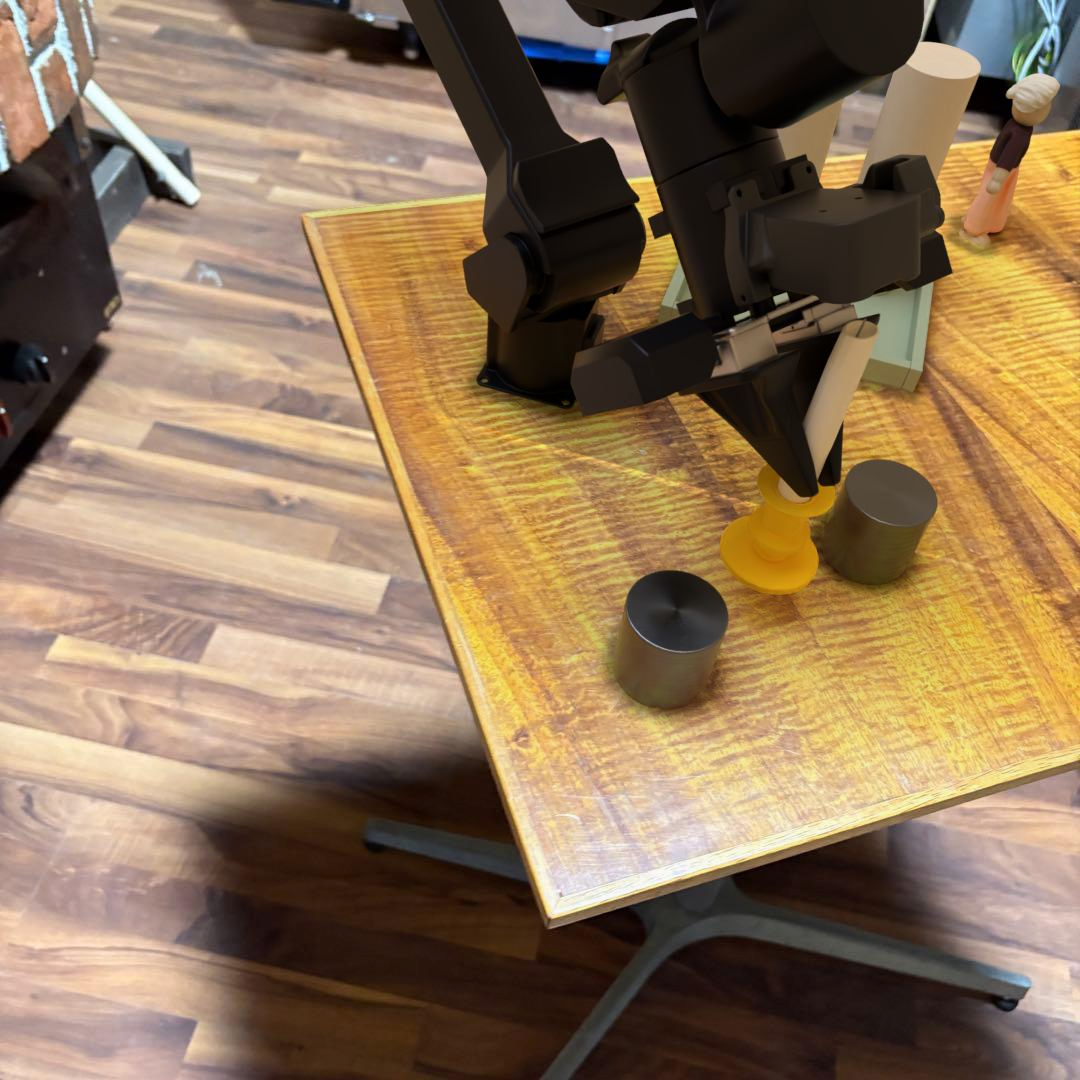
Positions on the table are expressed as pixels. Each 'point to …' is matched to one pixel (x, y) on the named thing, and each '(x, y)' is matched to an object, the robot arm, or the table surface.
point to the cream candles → (901, 112)
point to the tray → (898, 326)
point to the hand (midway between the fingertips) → (820, 490)
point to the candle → (781, 524)
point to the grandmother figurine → (1008, 157)
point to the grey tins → (701, 613)
